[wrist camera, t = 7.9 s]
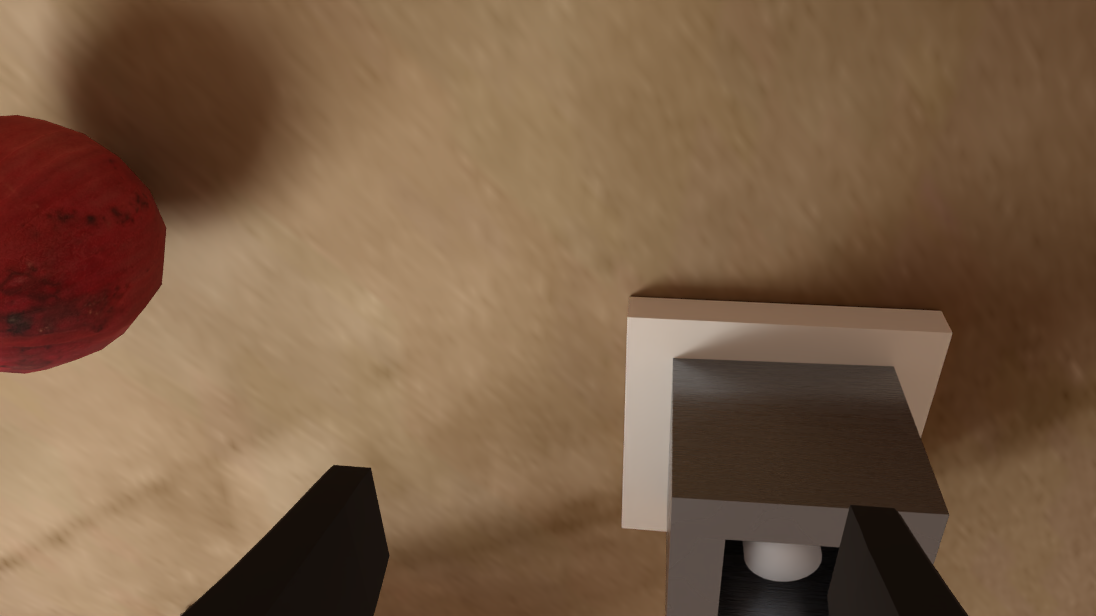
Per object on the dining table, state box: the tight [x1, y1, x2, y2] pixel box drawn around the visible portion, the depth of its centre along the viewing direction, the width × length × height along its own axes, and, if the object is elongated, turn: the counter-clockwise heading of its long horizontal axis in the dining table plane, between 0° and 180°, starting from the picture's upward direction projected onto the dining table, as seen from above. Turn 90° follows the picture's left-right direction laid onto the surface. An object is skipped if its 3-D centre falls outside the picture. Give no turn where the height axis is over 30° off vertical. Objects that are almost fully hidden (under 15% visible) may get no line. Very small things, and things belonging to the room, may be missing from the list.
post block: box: [622, 297, 952, 582], centre depth 21 cm, size 8×8×5 cm
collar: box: [665, 358, 949, 616], centre depth 20 cm, size 6×6×5 cm
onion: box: [0, 115, 166, 374], centre depth 18 cm, size 6×6×8 cm
